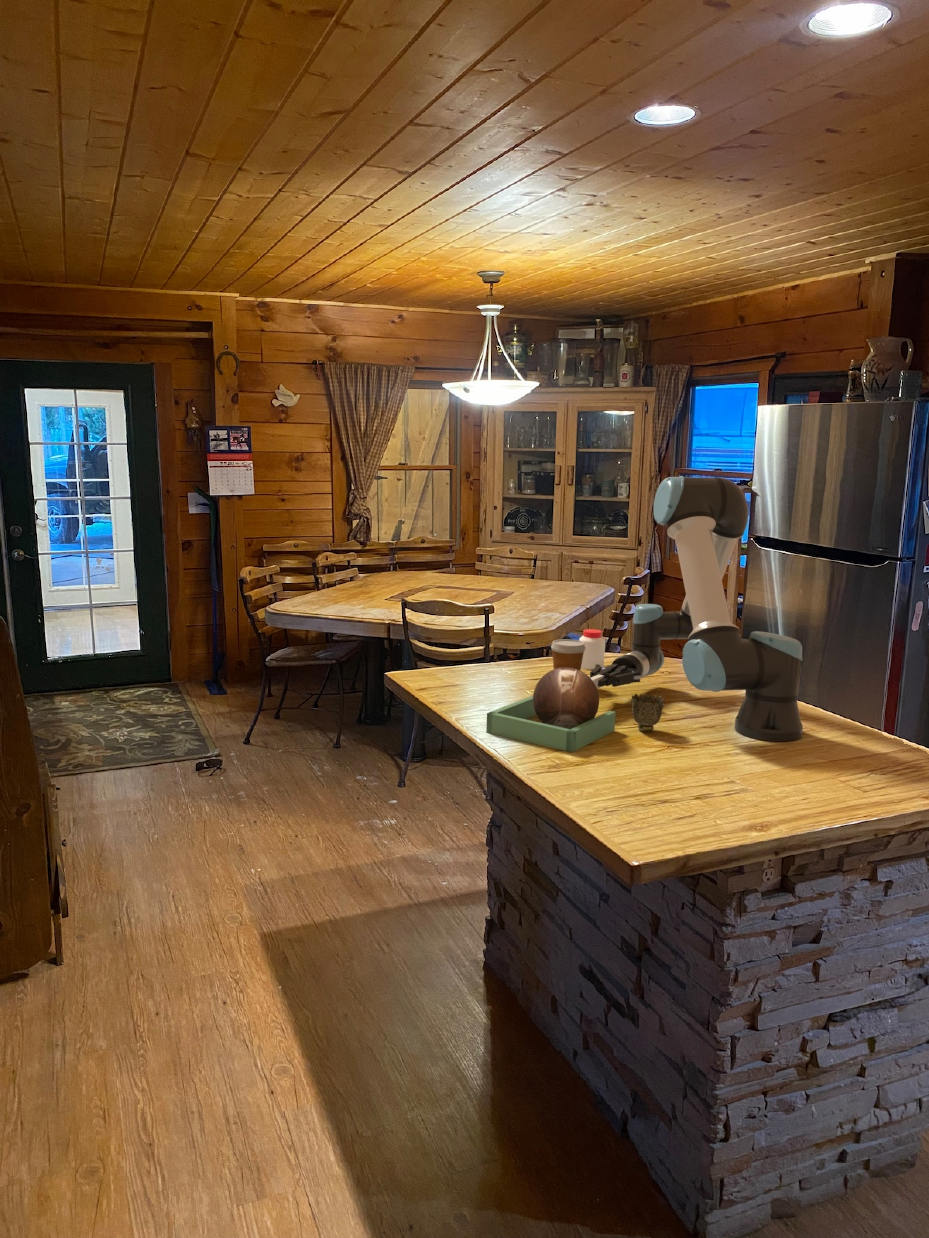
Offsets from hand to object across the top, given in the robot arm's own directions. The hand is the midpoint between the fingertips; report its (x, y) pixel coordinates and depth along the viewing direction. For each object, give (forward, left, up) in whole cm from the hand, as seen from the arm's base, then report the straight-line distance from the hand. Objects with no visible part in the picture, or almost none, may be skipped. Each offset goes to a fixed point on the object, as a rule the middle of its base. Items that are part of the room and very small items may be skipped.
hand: (589, 685), depth 223 cm
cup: (-16, -5, -8) cm, 18 cm away
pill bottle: (+41, -33, -8) cm, 53 cm away
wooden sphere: (-9, +13, -8) cm, 18 cm away
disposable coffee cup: (+26, -13, -8) cm, 30 cm away
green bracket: (-7, +15, -7) cm, 18 cm away
